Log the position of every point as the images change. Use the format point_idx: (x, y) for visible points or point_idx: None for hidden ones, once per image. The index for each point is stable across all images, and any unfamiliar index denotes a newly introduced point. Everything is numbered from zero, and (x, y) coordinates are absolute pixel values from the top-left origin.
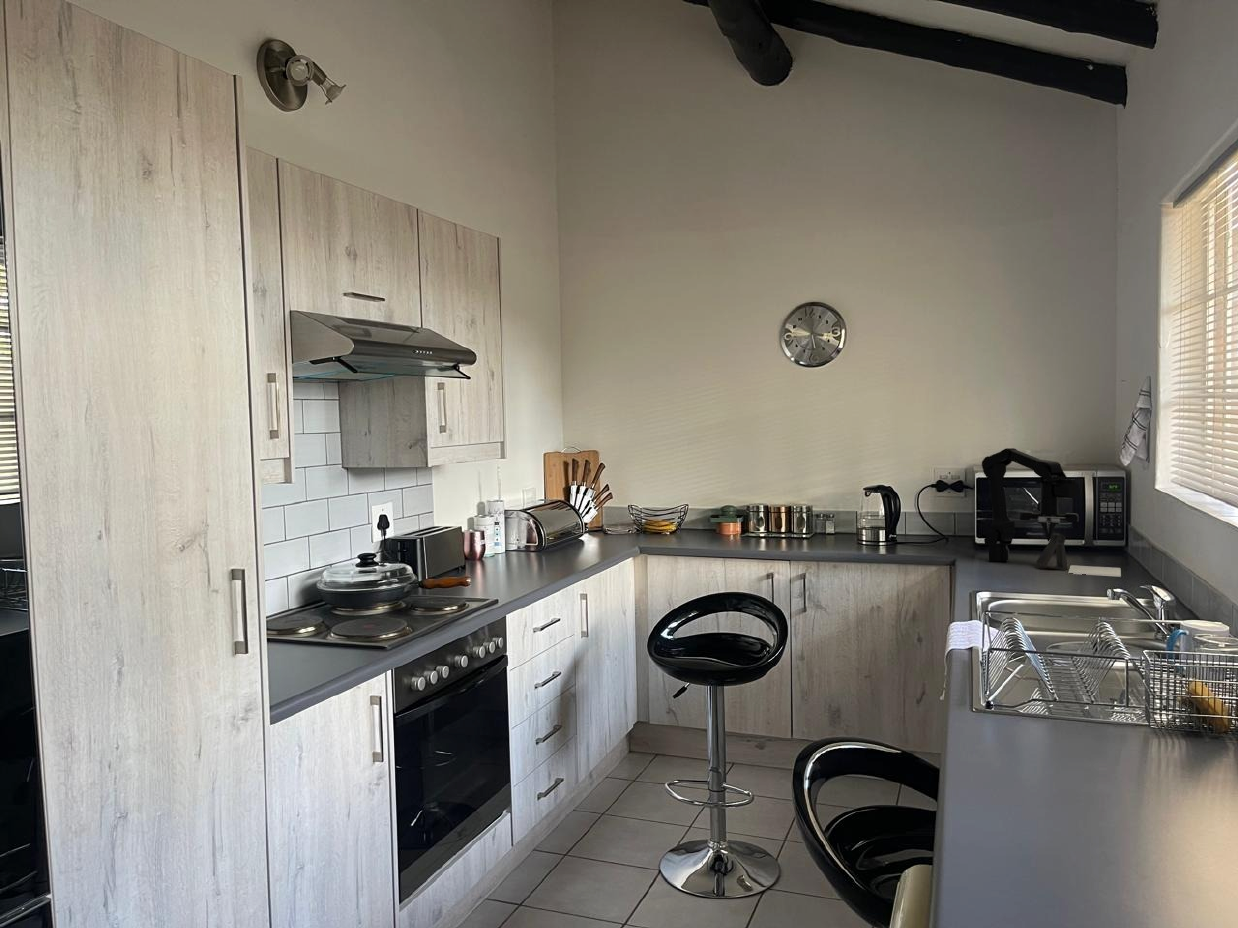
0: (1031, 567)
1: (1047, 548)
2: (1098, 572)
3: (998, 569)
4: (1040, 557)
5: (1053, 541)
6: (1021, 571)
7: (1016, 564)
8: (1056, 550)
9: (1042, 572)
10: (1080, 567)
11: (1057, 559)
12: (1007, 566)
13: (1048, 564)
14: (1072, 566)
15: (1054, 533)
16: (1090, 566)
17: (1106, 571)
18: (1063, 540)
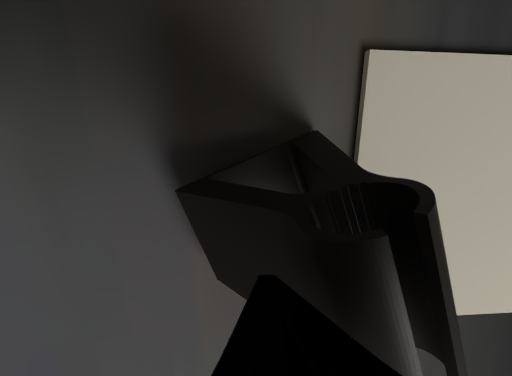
0: (153, 169)
1: (248, 248)
2: (466, 280)
3: (7, 322)
4: (198, 213)
5: (316, 306)
6: (130, 337)
7: (38, 58)
8: (317, 172)
9: (226, 326)
10: (413, 130)
11: (305, 167)
12: (14, 184)
13: (246, 168)
14: (375, 102)
15: (372, 297)
16: (475, 57)
17: (509, 230)
18: (423, 337)
